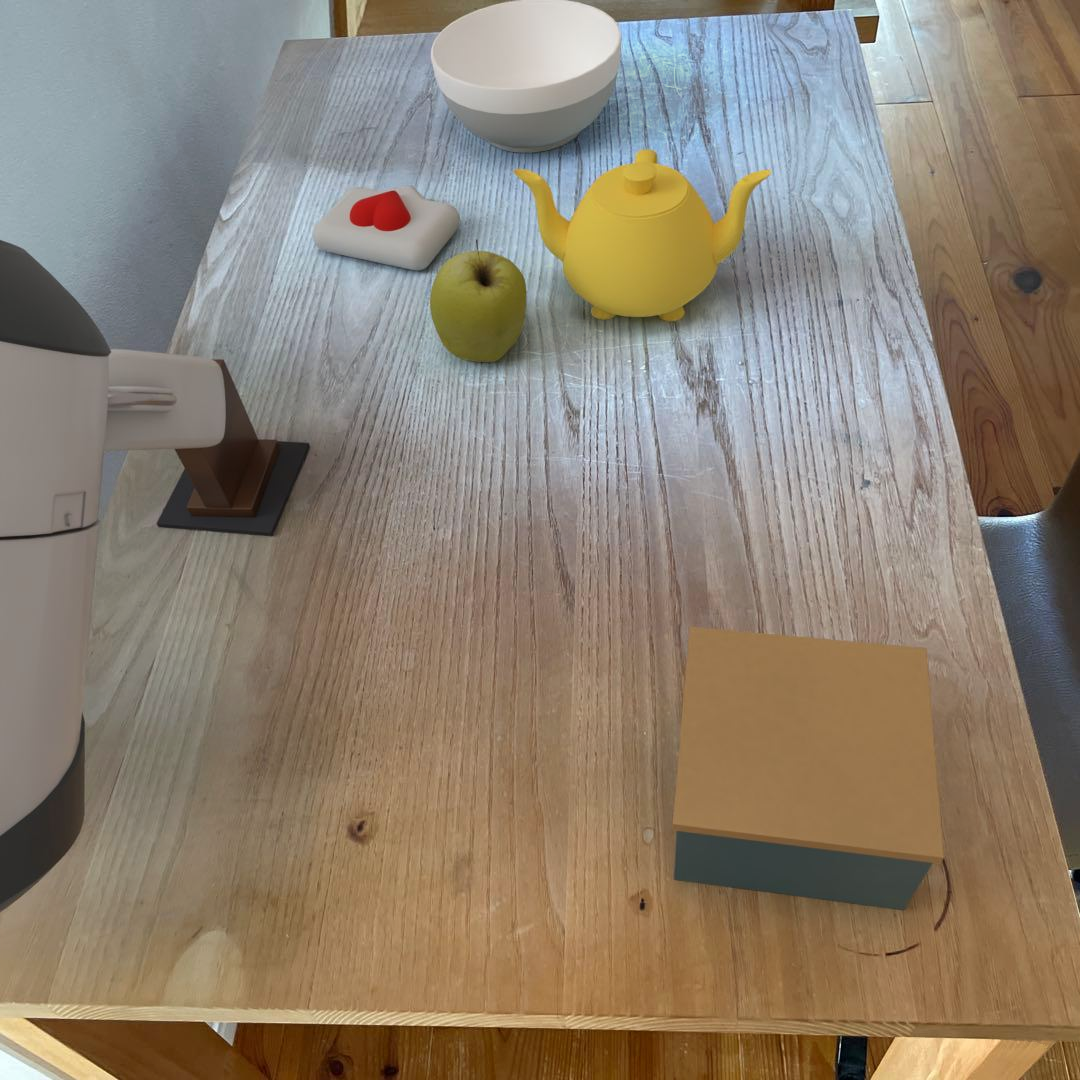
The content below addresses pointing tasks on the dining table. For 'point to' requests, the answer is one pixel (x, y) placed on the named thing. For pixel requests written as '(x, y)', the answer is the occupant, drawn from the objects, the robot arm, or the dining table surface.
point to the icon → (387, 227)
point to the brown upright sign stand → (230, 464)
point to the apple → (478, 305)
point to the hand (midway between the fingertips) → (72, 406)
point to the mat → (262, 524)
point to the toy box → (806, 768)
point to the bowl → (528, 71)
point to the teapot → (640, 237)
